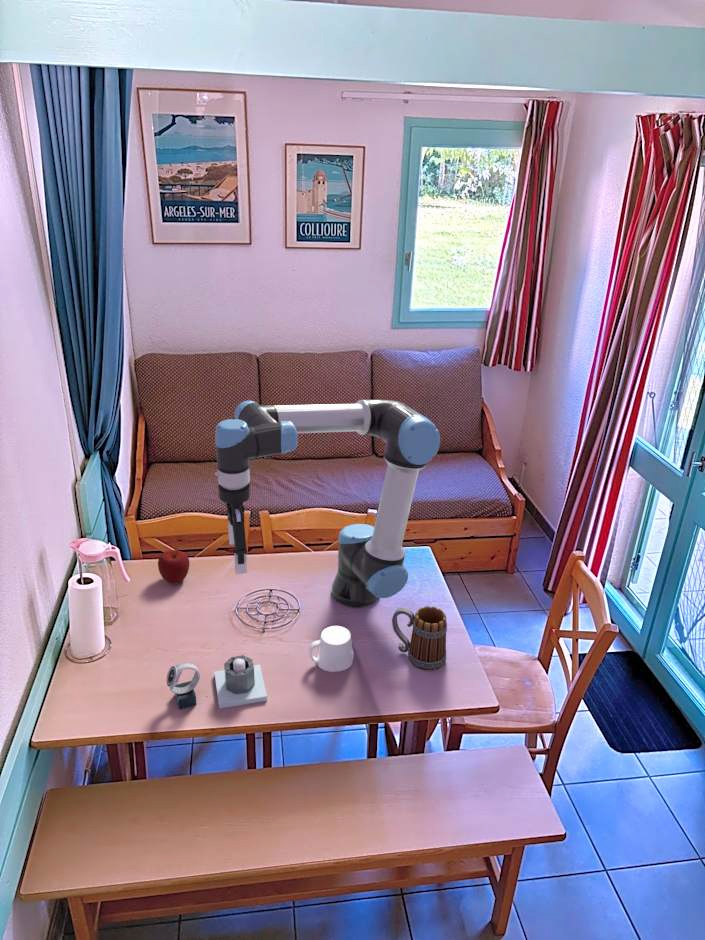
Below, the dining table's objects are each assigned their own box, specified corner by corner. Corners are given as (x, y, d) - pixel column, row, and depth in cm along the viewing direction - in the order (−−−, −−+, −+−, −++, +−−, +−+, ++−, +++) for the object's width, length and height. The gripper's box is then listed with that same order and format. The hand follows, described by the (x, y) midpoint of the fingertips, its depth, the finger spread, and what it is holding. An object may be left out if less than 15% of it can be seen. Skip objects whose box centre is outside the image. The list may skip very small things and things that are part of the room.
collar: (252, 671, 191) (251, 654, 188) (255, 691, 185) (255, 672, 182) (224, 676, 189) (223, 658, 187) (227, 695, 183) (226, 677, 181)
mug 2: (449, 651, 203) (454, 608, 196) (441, 676, 194) (445, 631, 187) (396, 638, 207) (399, 595, 201) (385, 661, 198) (388, 617, 192)
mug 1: (349, 623, 198) (356, 642, 191) (348, 650, 202) (355, 669, 195) (306, 629, 195) (312, 648, 188) (306, 656, 200) (311, 676, 193)
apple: (187, 589, 225) (184, 562, 220) (156, 588, 225) (153, 561, 220) (193, 572, 233) (191, 545, 229) (163, 571, 233) (161, 544, 229)
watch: (167, 696, 184) (163, 663, 179) (198, 688, 187) (195, 655, 182) (171, 711, 180) (167, 677, 175) (203, 703, 183) (200, 669, 178)
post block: (260, 668, 194) (259, 643, 191) (267, 700, 184) (266, 674, 180) (214, 675, 192) (212, 650, 188) (219, 708, 181) (217, 682, 177)
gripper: (213, 462, 183) (217, 533, 193) (223, 510, 162) (228, 588, 171) (243, 459, 185) (246, 530, 195) (257, 506, 164) (259, 584, 173)
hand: (237, 557), depth 183 cm, fingers open, 13 cm apart
